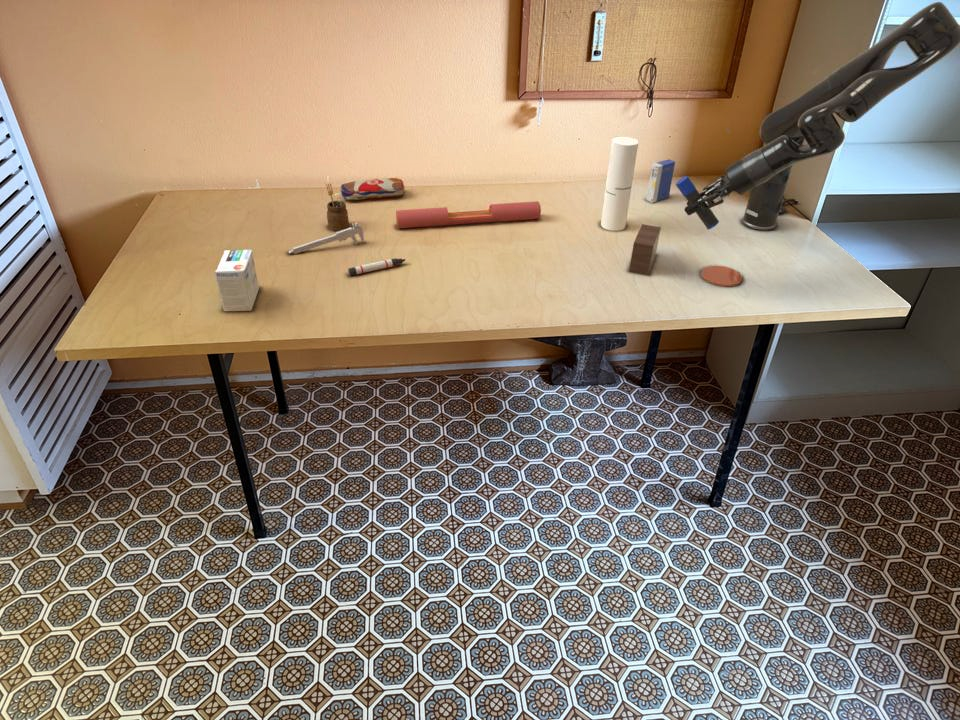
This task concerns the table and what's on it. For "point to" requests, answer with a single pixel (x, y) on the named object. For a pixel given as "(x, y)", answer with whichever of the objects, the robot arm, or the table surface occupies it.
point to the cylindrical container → (619, 182)
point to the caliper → (332, 239)
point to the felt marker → (692, 196)
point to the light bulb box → (237, 280)
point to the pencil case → (372, 188)
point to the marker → (374, 266)
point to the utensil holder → (336, 213)
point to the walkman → (660, 180)
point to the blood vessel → (467, 215)
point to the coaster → (721, 276)
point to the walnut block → (644, 249)
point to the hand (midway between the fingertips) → (687, 208)
